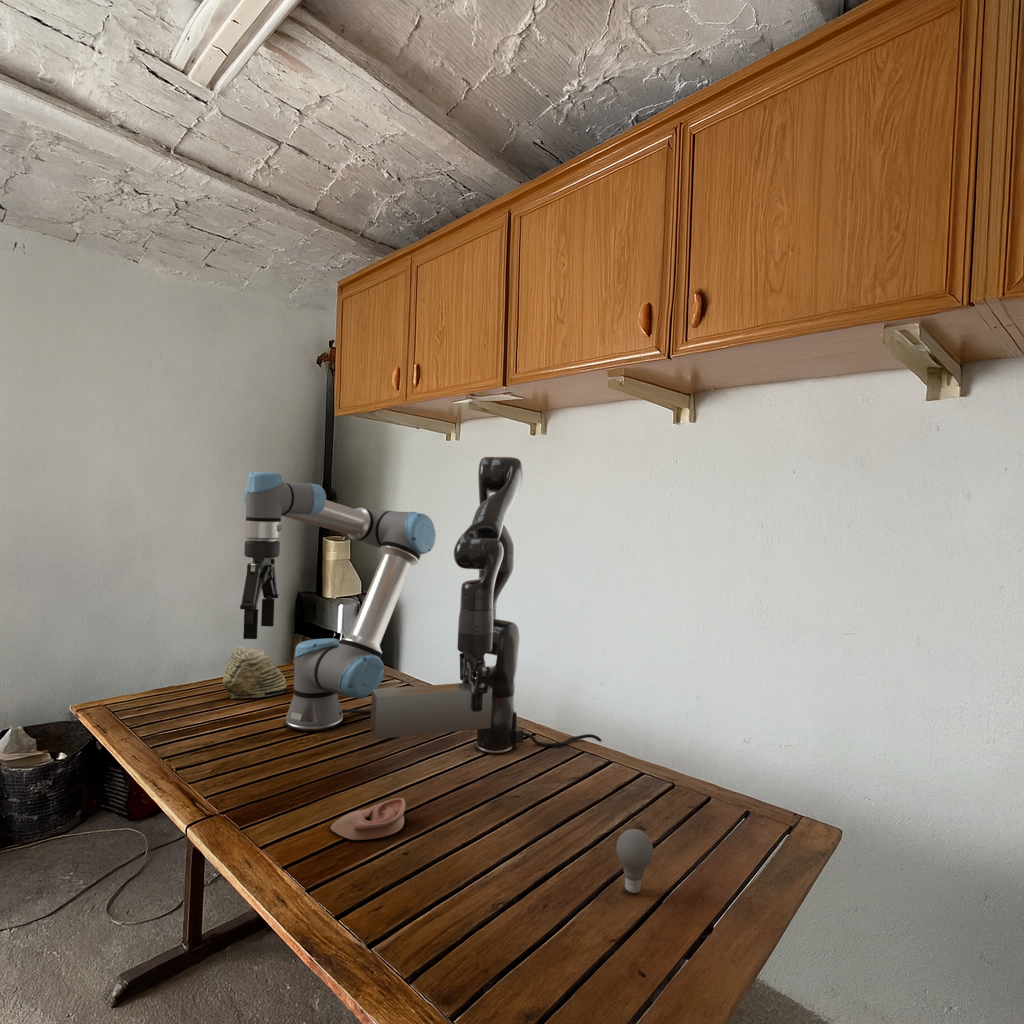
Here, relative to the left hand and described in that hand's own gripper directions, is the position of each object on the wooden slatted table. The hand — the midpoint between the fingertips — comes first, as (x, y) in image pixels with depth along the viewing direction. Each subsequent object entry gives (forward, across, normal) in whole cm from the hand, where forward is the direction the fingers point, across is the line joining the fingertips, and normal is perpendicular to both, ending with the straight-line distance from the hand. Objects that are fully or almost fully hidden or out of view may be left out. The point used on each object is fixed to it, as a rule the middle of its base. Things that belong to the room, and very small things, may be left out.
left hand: (259, 632), depth 145 cm
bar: (+16, -16, -40) cm, 46 cm away
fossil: (+32, +54, +15) cm, 65 cm away
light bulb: (+32, -49, -75) cm, 95 cm away
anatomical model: (+32, -26, -29) cm, 50 cm away
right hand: (+12, -13, -49) cm, 52 cm away
